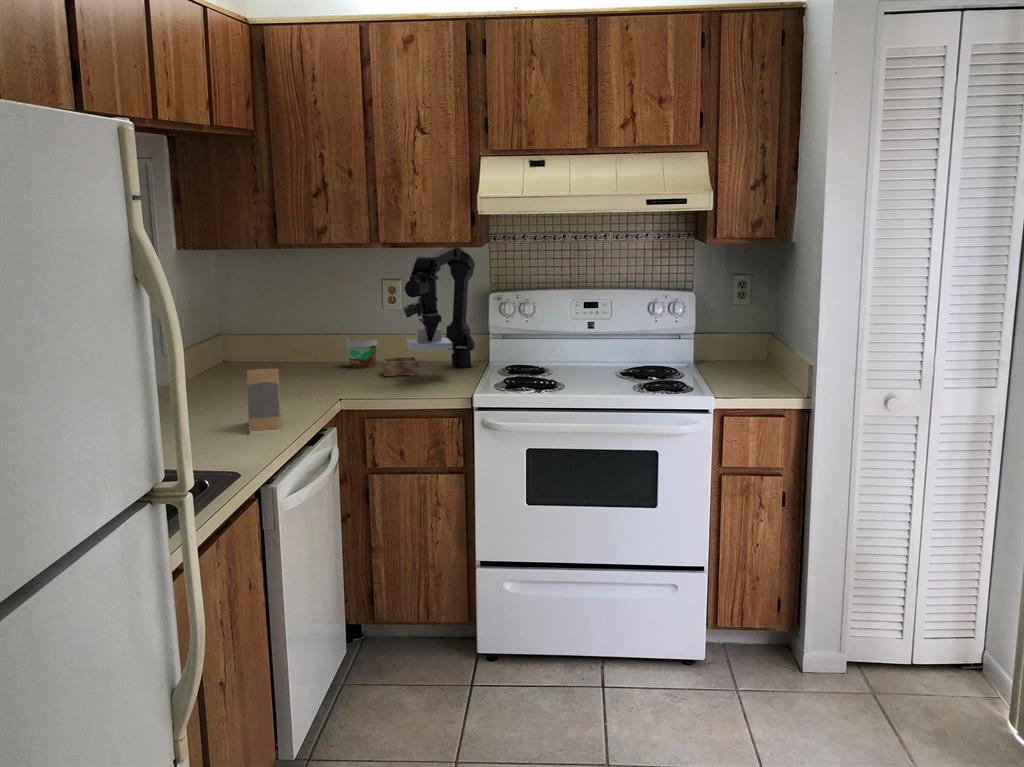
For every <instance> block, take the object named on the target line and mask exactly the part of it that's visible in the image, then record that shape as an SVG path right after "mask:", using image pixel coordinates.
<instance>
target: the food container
mask: <svg viewBox="0 0 1024 767" xmlns="http://www.w3.org/2000/svg"><path fill="white" fill-rule="evenodd" d="M378 344H379V343H378V340H377V339H370V340H366V339H365V340H363V339H359V340H349V338H346V340H345V346H346V347H347V352H348V353H347V354H348V359H349V365H350V367H351V368H353V367H358V368H357V369H360V368H359V367H369V368H371V367H370V366H374V365H375V366H376V356H377V355H376V354H377V346H378ZM375 366H374V367H375Z"/></svg>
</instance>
